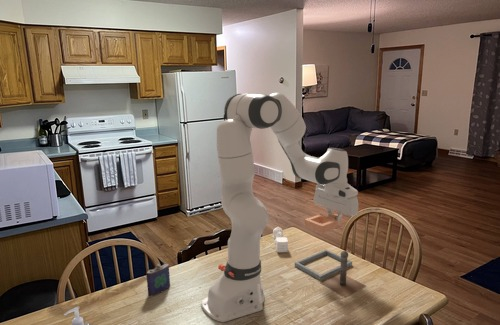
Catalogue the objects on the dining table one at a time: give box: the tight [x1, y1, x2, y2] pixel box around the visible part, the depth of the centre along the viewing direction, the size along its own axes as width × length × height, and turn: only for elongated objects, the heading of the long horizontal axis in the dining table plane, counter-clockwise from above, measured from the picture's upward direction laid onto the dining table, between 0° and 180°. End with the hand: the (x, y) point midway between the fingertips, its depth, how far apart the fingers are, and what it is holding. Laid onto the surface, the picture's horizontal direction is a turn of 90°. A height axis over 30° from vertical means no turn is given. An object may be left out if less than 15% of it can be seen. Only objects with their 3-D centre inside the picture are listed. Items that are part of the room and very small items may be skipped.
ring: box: [304, 213, 339, 235], centre depth 145 cm, size 14×9×3 cm, turn 127°
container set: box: [272, 226, 289, 253], centre depth 173 cm, size 20×5×6 cm, turn 3°
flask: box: [145, 263, 171, 297], centre depth 134 cm, size 9×3×11 cm, turn 138°
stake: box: [319, 250, 367, 298], centre depth 134 cm, size 12×12×15 cm
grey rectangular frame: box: [294, 249, 353, 281], centre depth 150 cm, size 19×14×3 cm
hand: (334, 220), depth 149 cm, fingers closed on ring, 2 cm apart
